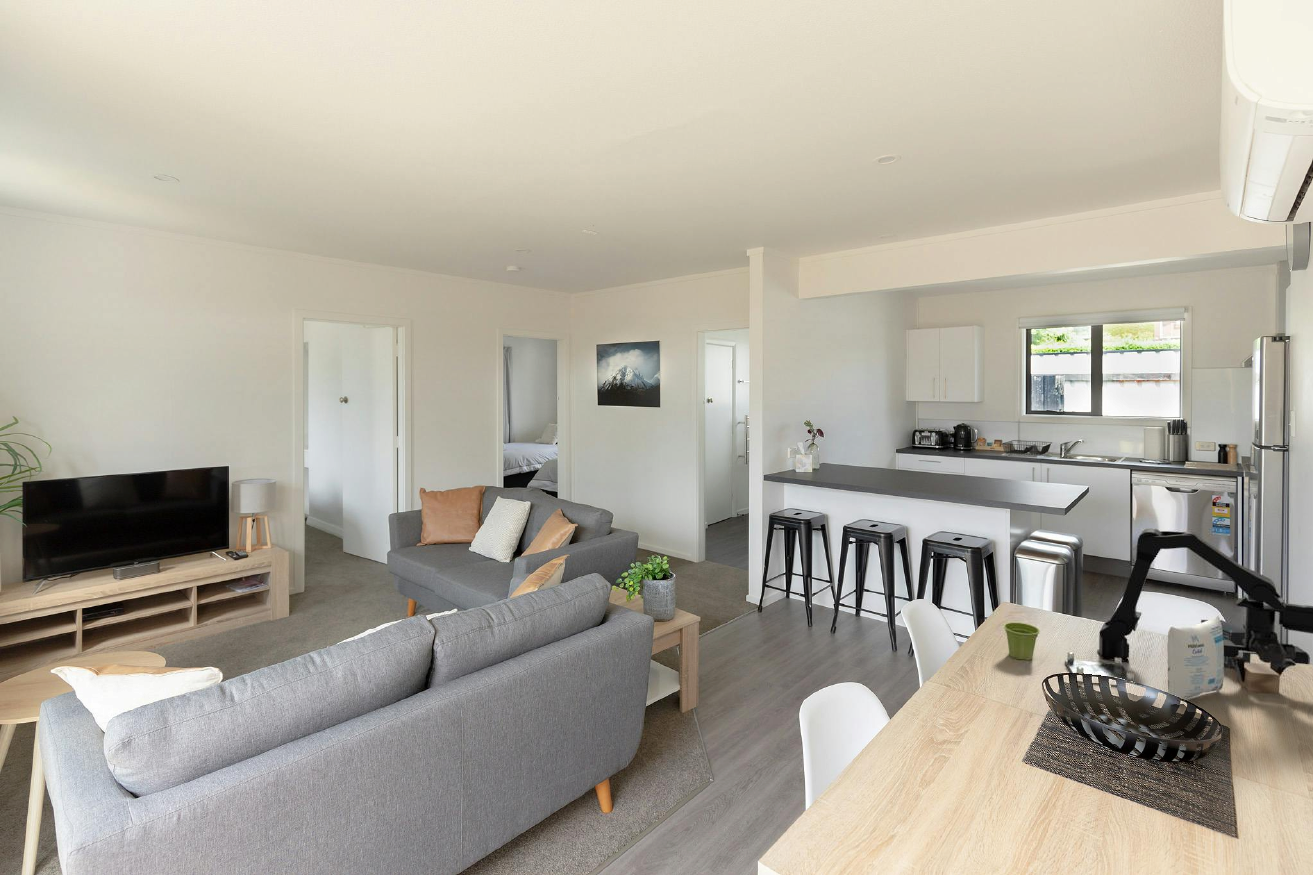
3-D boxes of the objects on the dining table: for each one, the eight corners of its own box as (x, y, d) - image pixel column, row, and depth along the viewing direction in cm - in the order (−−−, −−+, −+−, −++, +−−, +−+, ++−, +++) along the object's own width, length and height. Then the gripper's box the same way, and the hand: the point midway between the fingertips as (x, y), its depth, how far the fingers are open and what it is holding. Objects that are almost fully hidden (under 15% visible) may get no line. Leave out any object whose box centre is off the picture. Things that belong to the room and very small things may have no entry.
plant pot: (1045, 657, 195) (1045, 628, 195) (1029, 665, 190) (1029, 636, 189) (1013, 647, 203) (1013, 620, 202) (997, 655, 198) (997, 627, 197)
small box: (1252, 668, 184) (1253, 631, 184) (1228, 668, 184) (1230, 632, 184) (1220, 653, 195) (1222, 618, 194) (1198, 653, 195) (1199, 619, 194)
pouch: (1237, 698, 167) (1240, 621, 166) (1184, 711, 162) (1186, 632, 160) (1203, 685, 175) (1206, 612, 173) (1151, 697, 169) (1153, 621, 168)
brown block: (1250, 690, 171) (1250, 672, 171) (1236, 679, 178) (1237, 661, 177) (1279, 693, 169) (1279, 675, 169) (1264, 682, 176) (1265, 664, 175)
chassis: (1075, 681, 179) (1076, 669, 179) (1064, 662, 191) (1064, 651, 191) (1137, 688, 174) (1137, 675, 174) (1121, 668, 186) (1121, 656, 186)
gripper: (1230, 632, 168) (1227, 691, 169) (1324, 640, 161) (1321, 701, 162) (1210, 617, 178) (1208, 673, 179) (1298, 624, 172) (1296, 682, 173)
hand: (1257, 682), depth 173 cm, fingers closed on brown block, 6 cm apart
